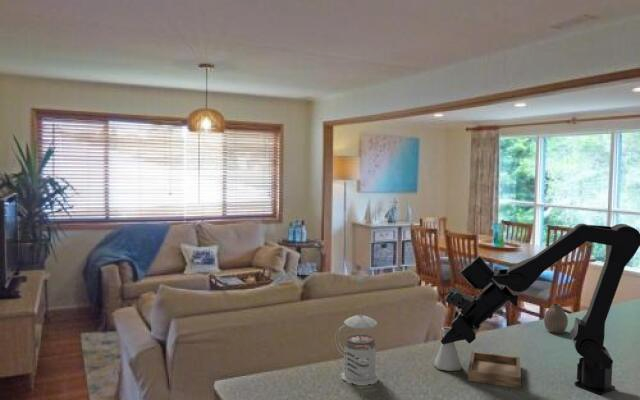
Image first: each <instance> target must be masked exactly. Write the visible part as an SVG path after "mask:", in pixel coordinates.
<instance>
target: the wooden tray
mask: <svg viewBox="0 0 640 400" xmlns="http://www.w3.org/2000/svg"><path fill="white" fill-rule="evenodd" d="M520 358H521V357H519V356H515V355H514V356H512V355H506V354H505V355H504V354H496V353H490V352H481V351H473V350H472V351H471V354H470V359H469V364H468V368H467V381H468V382H469V381H471V382H477V383H483V384H489V385H498V386H502V387H503V386H505V387H510V388H511V387H512V388H519V389H521V387H522V386H521V383H522V375H521V374H522V373H521V372H522V371H521V359H520Z"/></svg>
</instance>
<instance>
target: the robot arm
mask: <svg viewBox="0 0 640 400" xmlns="http://www.w3.org/2000/svg"><path fill="white" fill-rule="evenodd" d="M588 242H589V243H594V244H600V245H605V260H604V262H603V266H602V268H601V271H600V274H599V277H598V279H597V283H596V285H595V289H594V291H593V294H592V297H591V300H590V302H589V306H588V309H587V311H586V313H585V315H584V316H583V317H582V318H581V319H580V318H579V317H575V319H574V324H573V327H572V329H571V330H570V331H569V332H570V334H571V339H572V340H571V341H572V343H573V346H574V348H575V349H574V350H576V352H577V354H579V355H580V356H581V357H579V360H578V363H577V366H576V380H577V381H575V382H574V385H575V386H577V387H578V388H579V387H580V388H582V389H585V390H587V391H590V392H592V393H595V394H598V395H602V394H606V393H608V392H610V391H613V390H615V389H616V386H615V385H612V380H613V363H614V361H613V358H612V356H611V354H610V353H609V351H608V349H607V347H606V346H604V342H605V334H606V333H605V331H606V329H605V328H606V327H605V326H606V321H607V318H608V315H609V313H610V311H611V306H612V303H613V301H614V299H615V295H616V293H617V290H618V287H619V284H620V281H621V279H622V277H623V273H624V271H625V268H626V266H627V265H628V264H629V262H630V261H631V260H632V259H633V258H634V256H635V255H636V253H637V252H638V250H639V248H640V231H639V230H638V229H637V228H635V227H632V226H630V225H628V224H626V223H617V224H615V225H613V226H609V225H596V224H595V225H594V224H587V223H578V224H576V225H575V226H574V227H573V228H572V229H570V231H568V232H566V233H565V234H564V235H563V236H561V237H559V238H558V239H556V240H555V241H554V242H552V243H551V244H549V245H548V246H547V247H545V248H543V250H541V251H539V252H538V253H537V254H535V255H534V256H531V257H529V258H527V259H523V260H521V261H519V262H517V263H515V264H513V265H511V266H509V267H508V268H503V269H501V268H500V269H494V270H493V268H492V267H491V266H490V265H489V264H488V263H487V262H486V261H485V259H484V258H483V257H482V256H481V255H479V256H477V257H476V258H475V259H473V260H472V261H470V262H469V263H467V264H466V265H465V266H464V267H463V268H462V269H461V270H460V271H459V274H460V275H461V276H462V277H463V278H464V279H465V281H466V282H467V283H468V284H469V285H470V286H471V287H472V288H473V289H474V290H481V291H482V292H480V293H479V294H474V295H473V296H469V295H468V294H466V293H465V292H462V291H461V290H459V289H457V288H455V287H450V289H449V291H448V293H447V296H446V297H445V299H444V301H445V302H446V303H448V304H449V305H452V306H454V307H456V308H457V309H458V310H460V311H457V310H455V311H454V314H453V315H454V317H453V318H452V320H451V325H450V326H449V327H451V329H450V330H449V331H448V332H447V334H446V335H445V336H444V337H443V336H441V337H442V339H440V343H441V344H447V343H452V342H454V343H455V342H460V341H466V342H467V343H468V344H471V343H472V342H474V341H476V339H477V338H476V337H477V330H479V329H480V328H481V326H482V324H483V323H485V322H486V321H487V320H488V319H489V320H491V319H493V317H494V314H496V313H497V312H498V311H500V309H502V308H503V307H504V306H505V305H507V304H508V303H509V302H510V303H511V304H512V305H513V306H514V307H518V305H519V304H518V300H519V296H520V295H519V293H523V292H525V291H527V290H528V289H529V288H530V287H531V286H532V285H533V284H534V283H535V282H536V281H537V280H538V278H539V277H540V276H541V275H542V274H543V273H544V272H545V271H546V270H547V269H549V268H550V267H552V266H553V265H554V264H556V263H558V262H559V261H560V260H562V259H563V258H565V257H566V256H568V255H569V254H571V253H572V252H573V251H575V250H576V249H578V248H579V247H581V246H582V245H584V244H585V243H588ZM513 292H515V293H513ZM516 292H517V293H516Z"/></svg>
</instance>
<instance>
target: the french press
mask: <svg viewBox="0 0 640 400" xmlns="http://www.w3.org/2000/svg"><path fill="white" fill-rule="evenodd" d="M365 282H366V280H365V278H364V277H362V276H359V277H358V278H357V283H360V288H362V283H365ZM359 302H360V305H359V307H360V312H359V313H360V314H359V315H353V316H351V317H348V318H346V319H345V320H344V322H343V323H344V324H343V325H342V326H340V327H339V328H338V329H336V332H335V334H334V343H335V346H336V349H337V350H338V352H339V353H340V354H342V355H343V358H344V359H343V366H344V367H343V372H342V373H340V375H342V378H343V379H345V380H346V381H348V382H351V383H356V384H361V385H360V386H369V385H368V384H371V385H374V384H377V383H378V382H379V381H380V379H379V378H380V376H378V375H379V374H378V373H377V372H376V370H377V369H376V366H377V365H376V363H377V361H376V360H377V359H376V357H377V353H376V352H377V346H376V342H375V340H376V339H375V337H374V336H373V335H369V334H363V333H362V330H369V329H374V328H376V327H377V324H378V322H377V321H376V320H375V319H374V318H371V317H370V316H367V315H363V314H362V298H360V301H359ZM343 328H344V332H345V333H346V332H347V331H348V330H349V328H350V329H351V328H352V329H357V330H359V333H354V334H353V333H352V334H350V335H349V334H348V335H347V336H346V337H345V340H346V342H347V343H346V342H345V343H344V348H343V347H342V345H341V341H340V333H341V331H342V329H343ZM346 328H347V329H346ZM337 334H338V335H337ZM337 341H338V344H339V347H340V348H341V350H342V351H343V352H344V353H343V352H341V350H340V349H339V348H338V345H337ZM356 346H357V347H356ZM367 346H368V347H367ZM363 349H364V350H363ZM364 360H366V361H364ZM378 380H379V381H378ZM377 381H378V382H377ZM362 384H364V385H362Z"/></svg>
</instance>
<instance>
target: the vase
mask: <svg viewBox="0 0 640 400" xmlns="http://www.w3.org/2000/svg"><path fill="white" fill-rule="evenodd" d="M543 323H544V324H543V325H544V327H545V328H546V330H547V331H548V332H549V333H551V334H555V335H556V334H563V333H564V332H565V331H566V330H567V328H568V324H569V317H568V315H567V313H566V312H565V310H564V309H563V308H562V305H561V304H559V303H552V304H551V306H550V307H549V308H548V309H547V310H546V311H545V313H544V317H543Z"/></svg>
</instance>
